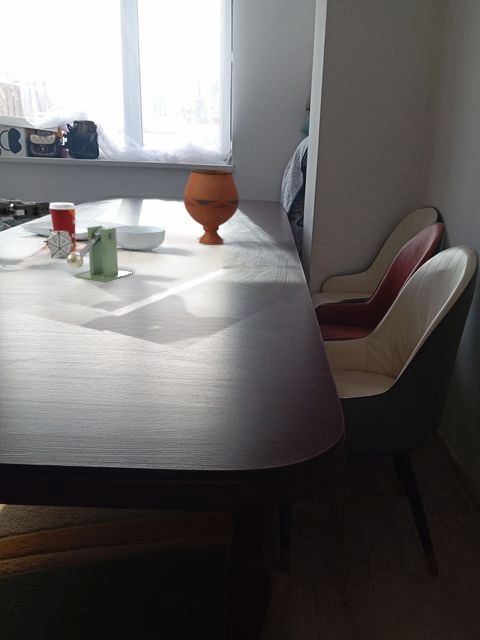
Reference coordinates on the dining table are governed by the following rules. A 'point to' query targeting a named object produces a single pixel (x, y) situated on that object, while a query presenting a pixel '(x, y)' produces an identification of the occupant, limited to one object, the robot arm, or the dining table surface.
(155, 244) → the cereal bowl
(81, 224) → the square plate
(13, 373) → the dining table surface
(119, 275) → the bracket
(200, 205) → the goblet
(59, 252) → the game die
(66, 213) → the paper cup
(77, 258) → the lever
